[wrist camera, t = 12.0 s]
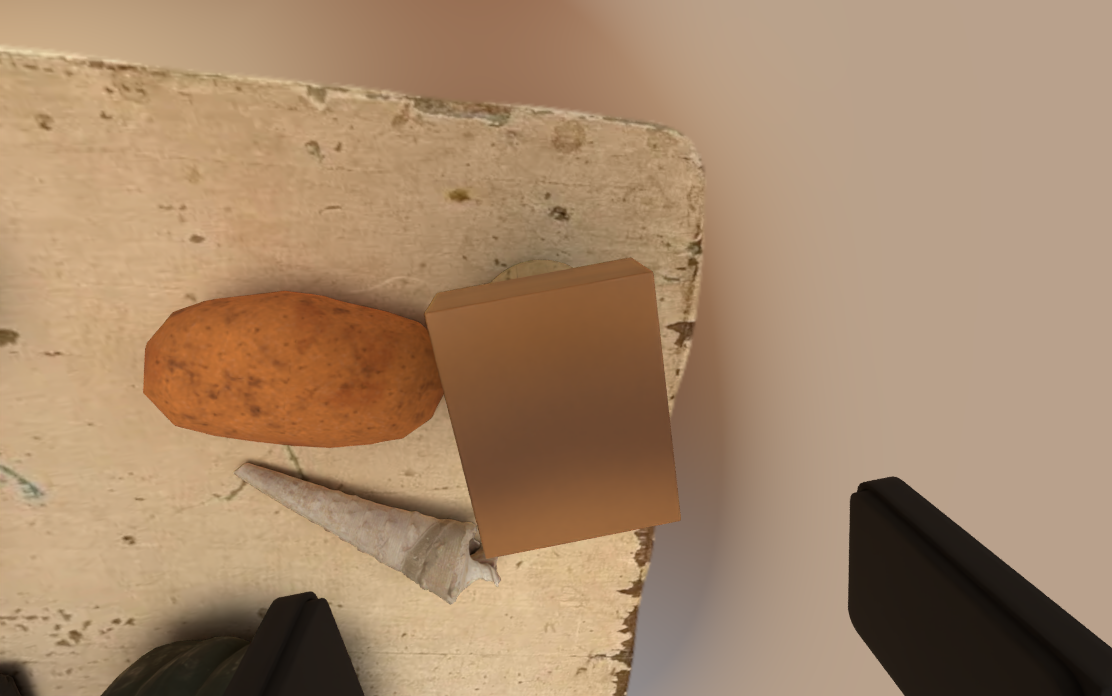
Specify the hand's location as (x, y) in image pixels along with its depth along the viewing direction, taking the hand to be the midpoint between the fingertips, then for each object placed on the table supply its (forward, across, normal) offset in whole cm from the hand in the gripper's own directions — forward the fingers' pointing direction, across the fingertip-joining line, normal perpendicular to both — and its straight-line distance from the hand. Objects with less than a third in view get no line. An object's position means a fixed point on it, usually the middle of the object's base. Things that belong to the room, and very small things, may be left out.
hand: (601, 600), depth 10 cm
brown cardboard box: (+11, 0, +1) cm, 11 cm away
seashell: (+20, +12, +10) cm, 26 cm away
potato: (+20, +11, 0) cm, 23 cm away
